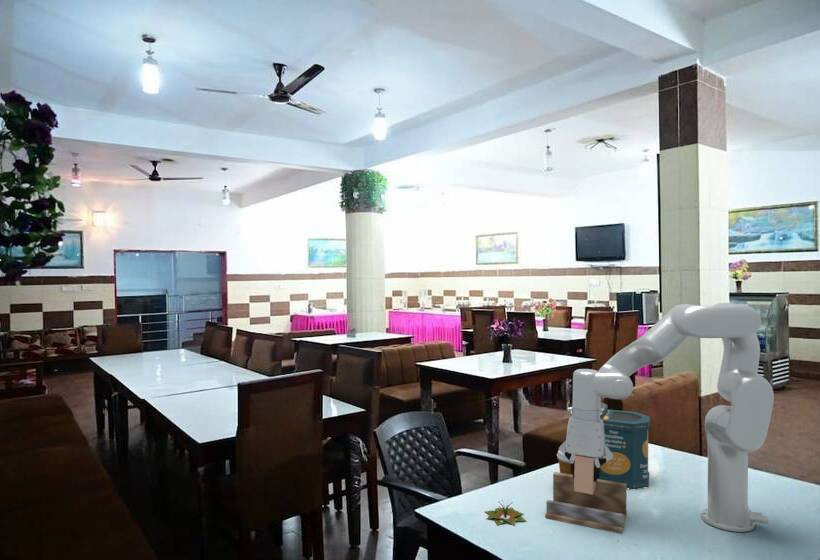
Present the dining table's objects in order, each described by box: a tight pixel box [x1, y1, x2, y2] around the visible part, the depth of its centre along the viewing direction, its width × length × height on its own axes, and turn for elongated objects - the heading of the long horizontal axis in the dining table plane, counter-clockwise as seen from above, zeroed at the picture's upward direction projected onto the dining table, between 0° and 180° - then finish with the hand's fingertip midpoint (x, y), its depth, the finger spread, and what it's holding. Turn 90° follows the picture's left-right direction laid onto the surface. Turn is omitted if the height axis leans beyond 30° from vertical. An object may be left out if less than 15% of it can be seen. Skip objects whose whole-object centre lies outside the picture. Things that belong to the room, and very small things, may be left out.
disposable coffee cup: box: [556, 449, 573, 475], centre depth 170 cm, size 10×10×12 cm
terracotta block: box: [574, 455, 596, 495], centre depth 152 cm, size 5×5×10 cm
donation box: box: [598, 401, 650, 490], centre depth 179 cm, size 16×16×28 cm
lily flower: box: [484, 499, 527, 527], centre depth 151 cm, size 12×12×5 cm
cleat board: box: [544, 471, 628, 535], centre depth 152 cm, size 20×13×9 cm, turn 63°
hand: (585, 477), depth 152 cm, fingers closed on terracotta block, 5 cm apart
